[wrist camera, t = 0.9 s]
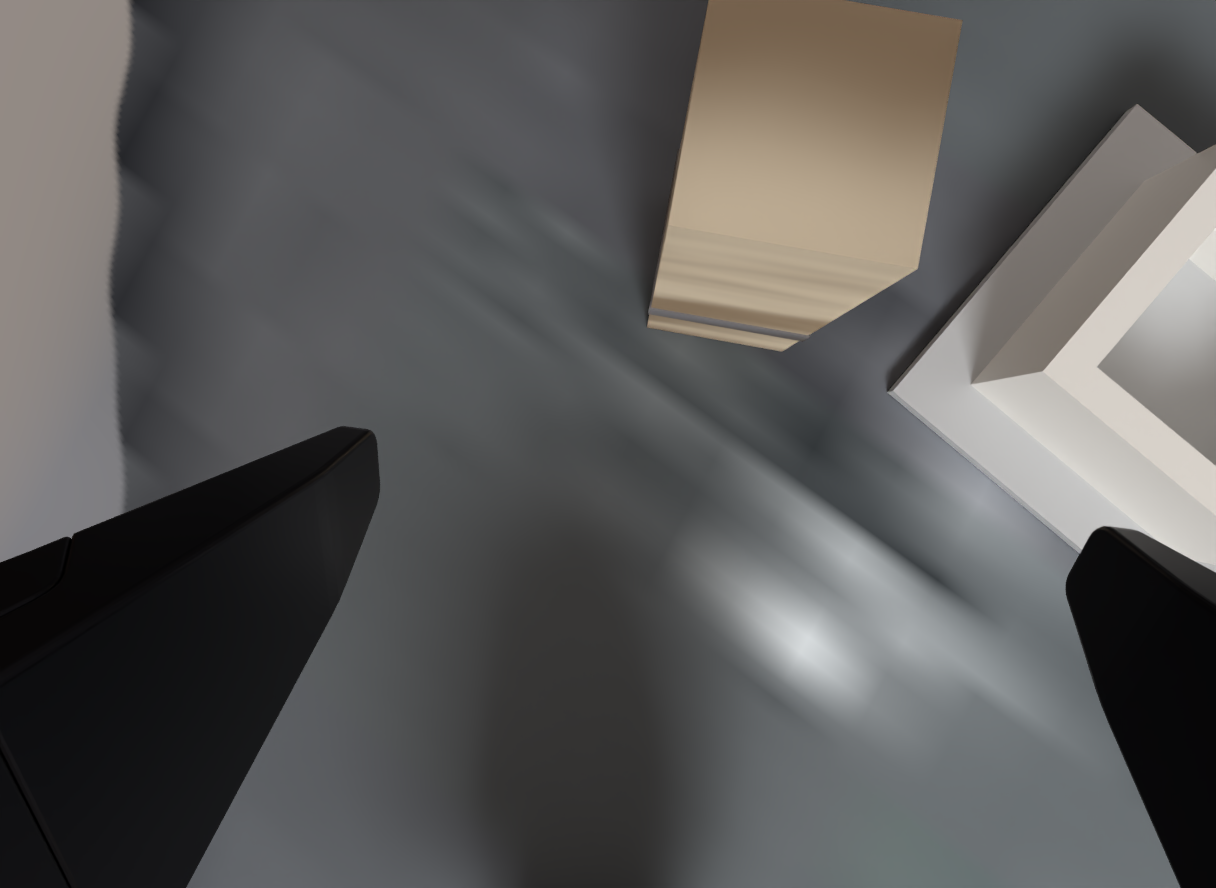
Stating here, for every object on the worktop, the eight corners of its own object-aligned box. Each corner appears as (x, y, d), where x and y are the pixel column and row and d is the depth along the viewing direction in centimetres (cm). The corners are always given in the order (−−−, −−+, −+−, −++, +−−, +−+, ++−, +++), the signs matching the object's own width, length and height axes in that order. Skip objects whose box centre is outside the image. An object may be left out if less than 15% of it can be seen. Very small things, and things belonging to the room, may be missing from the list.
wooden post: (783, 353, 24) (919, 272, 13) (645, 328, 24) (664, 227, 13) (808, 215, 24) (965, 18, 13) (670, 191, 24) (710, -25, 13)
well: (1172, 631, 24) (1301, 674, 19) (886, 392, 24) (948, 379, 19) (1415, 348, 24) (1602, 324, 19) (1126, 111, 24) (1244, 32, 19)
